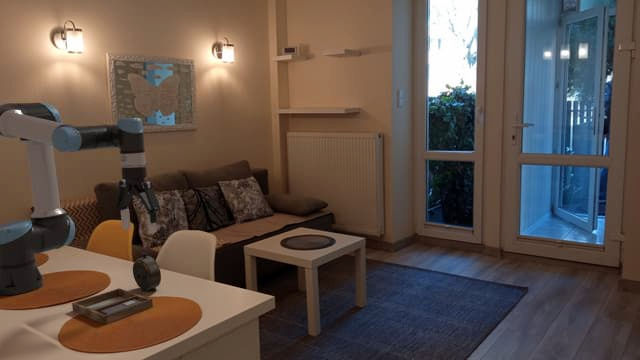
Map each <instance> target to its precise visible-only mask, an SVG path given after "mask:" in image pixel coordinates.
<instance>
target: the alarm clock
mask: <svg viewBox="0 0 640 360" xmlns="http://www.w3.org/2000/svg"><path fill="white" fill-rule="evenodd" d="M143 247H144V248H145V250H146V251H145V252H143V250H142V249H143ZM140 252H141V254H142V255H143V256H142V257H140V258H137V259H135V260H134V262H133V265H132V276H133V279H134V281H135V283H136V285H137V286H138V287H139V288H140V289H141V290H140V291H141V292H143V291H150V290H154V292H157V291H158V290H157V287H159V286H160V284H161V280H162V274H161V273H162V272H161V269H160V266H159V263H157V260H156V259H154V257H153V256H151V255H148V248H147V246H146V245H144V244H143V245H141V247H140Z"/></svg>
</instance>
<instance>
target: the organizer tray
mask: <svg viewBox="0 0 640 360" xmlns="http://www.w3.org/2000/svg"><path fill="white" fill-rule="evenodd" d="M134 299H135V300H138V301H141V303H138V304H135V305H132V306H129V307H126V308H123V309H121V310H118V311H115V312H112V313H109V314H106V315H104V314H102V313H101V311H102V310H105V309H108V308H111V307H114V306H117V305H119V304H122V303H125V302H128V301H131V300H134ZM71 306H72V311H73V312H74V313H77V314H79V315H81V316H84V317H87V318H89V319H91V320H93V321H95V322H97V323H100V324H103V325H108V324H110V323H114V322H115V321H116V322H117V321H118V320H121V319H125V318H126V317H130V316H133V315H135V314H138V313H141V312H143V311H146V310H149V309H152V308H154V304H153V299H152V298H149V297H145V296H143V295H140V294H137V293H135V292H131V291H128V290H126V289H122V288H121V287H119V288H116V289H113V290H109V291H105V292H103V293H100V294H97V295H94V296H91V297H87V298H83V299H81V300H77V301H75V302H72V303H71Z"/></svg>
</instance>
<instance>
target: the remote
mask: <svg viewBox="0 0 640 360" xmlns="http://www.w3.org/2000/svg"><path fill="white" fill-rule="evenodd" d="M138 303H141V301H138V300H135V299H134V300H131V301H128V302H125V303H122V304H119V305H117V306H114V307H111V308H108V309H105V310H102V311H101V313H102V314H104V315H106V314H109V313H112V312H115V311H118V310H121V309H123V308H126V307H129V306H132V305H135V304H138Z"/></svg>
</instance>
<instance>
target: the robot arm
mask: <svg viewBox="0 0 640 360" xmlns="http://www.w3.org/2000/svg"><path fill="white" fill-rule="evenodd" d="M61 117H62V116H61V114H60V113H59V111H58V109H56V108H55V106H54V105H52V104H50V103H43V102H19V103H15V102H13V103H12V102H10V103H3V104H0V136H1V137H6V138H9V139H17V138H19V139H20V140H19V141H20V143H21V144H23V145H24V146H25V149H26V157H27V163H28V165H27V166H28V171H29V178H30V179H29V180H30V186H31V194H32V202H33V203H32V204H33V209H34V210H33V213H31V215H30V219H17V220H12V221H9V222H4V223H3V224H0V296H13V295H20V294H24V293H29V292H32V291H35V290H38V289H39V288H41V287H43V286H44V277H43V275H42V273H41V271H40V269H39V267H38V265H37V262H36V256H35V255H38V254H41V253H42V254H43V253H44V252H49V251H52V250H58V249H61V248H63V247H66V246H68V245H69V244H71V242H72V241H73V240H74V237H75V234H76V229H75V228H76V226H75V223H74V221H73V219H72V218H71V217H70V216H69V215H67V213H66V212H67V211H66V210H65V209H62V208H61V201H60V195H59V193H60V191H59V185H58V177H57V170H56V162H55V156H54V155H55V152H54V149H56V150H57V151H58V152H60V153H73V152H81V151H90V150H101V149H119V154H120V165H121V166H122V167H121V178H122V179H121V180H119V181H118V189H117V195H116V200H115V203H114V206H115V208H118V210H119V211H120V212H119V213H120V220H121V228H122V230H123V231H124V230H128V229H131V228H132V227H131V219H130V217H131V215H130V209H129V205H130V202H131V201H132V198H133V196H136V197H138V198H139V199H140V200H141V202H142V204H143V206H144V208H145V209H146V210H147V213H146V220H147V229H148V231H147V232H148V235H151V234H155V233H157V232H158V228H157V227H158V226H157V222H158V220H157V212H159V211H161V206H160V203H159V200H158V198H157V196H156V194H155V191H154V188H153V183H152V181H145V178H147V176H148V175H147V167H146V166H145V165H146V164H147V159H146V150H145V137H144V127H143V120H142V119H141V118H140V117H126V118H124V117H123V118H118V119H117V121H116V124H99V125H96V124H95V125H84V126H83V125H82V126H79V125H78V126H77V125H76V126H75V125H71V124H66V123H63V122H62V118H61Z"/></svg>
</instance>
